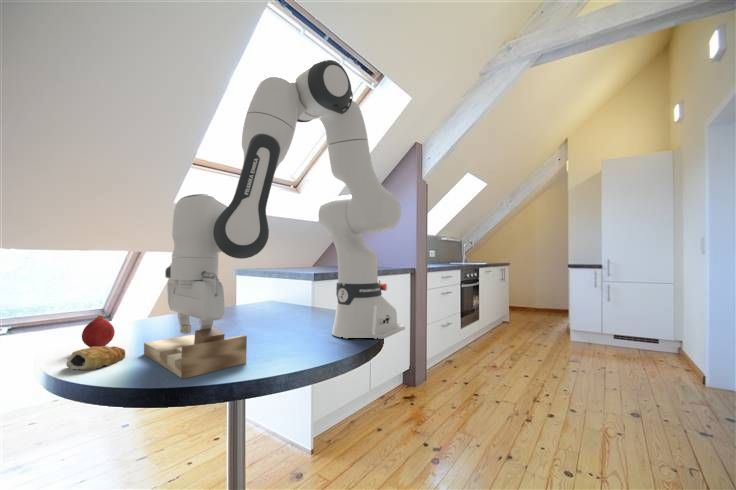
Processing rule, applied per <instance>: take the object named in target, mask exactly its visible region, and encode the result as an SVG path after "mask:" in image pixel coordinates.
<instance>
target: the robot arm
mask: <svg viewBox="0 0 736 490" xmlns="http://www.w3.org/2000/svg"><path fill="white" fill-rule="evenodd" d="M353 97H354V94H353V91H352V85H351V80H350V78H349V76H348V74H347V71H346V70H345V68H344V67H343V66H342V65H341V64H340V62H337V61H336V60H333V59H325V60H321V61H318V62H317V61H316V62H315V63H314V64H313V65H310V67H307V68H305V69H304V70H302V71H300V72H299V73H298V74H297V75H296V76H295V77H294V78H292V79H291V80H288V79H287V78H285V77H282V76H278V75H268V76H267V77H264V78H263V79H262V80H261V81H260V83H259V84H258V86H257V88H256V90H255V92H254V94H253V95H252V97H251V101H250V103H249V106H248V108H247V112H246V114H245V118H244V123H243V129H242V134H241V149H242V151H243V164H242V168H241V172H240V175H239V178H238V182H237V185H236V189H235V192H234V195H233V197H232V200H231V202H230V204H226V203H225V202H224V201H223V202H222V201H221V200H219V198H217V197H216V196H215V195H213V194H209V193H197V194H190V195H186V196H183V197H181V198H180V199H179V200H177V202H176V203H175V206H174V210H173V218H172V233H171V235H172V236H171V237H172V240H173V245H174V247H173V250H172V254H171V263H170V265H169V266H167V267H166V268H165V271H164V277H165V278H166V279H168V280H167V284H166V285H167V286H166V287H167V288H166V289H167V291H166V292H167V304H168V308H169V310H170V311H172V312H175V313H177V319H178V322H179V333H181V334H182V335H186V334H190V333H192V325H191V322H190V317H191V318H195V319H198V320H199V325H200V327H199V330H202V329H208V328H213V324H214V322H215V321H221V320H223V318H224V316H225V312H226V311H225V308H226V307H225V291H224V285H223V284H222V282H221V281H220V279H219V254H220V253H221V252H222V253H223V254H225V255H227V256H228V257H230V258H234V259H249V258H252V257H254V256H256V255H258V254H259V253H260V252H261V251H263V249H264V248H265V246H266V245H267V243H268V240H269V232H270V230H269V229H270V228H269V223H268V219H267V206H268V205H267V204H268V200H269V196H270V193H271V189H272V185H273V181H274V177H275V173H276V171H277V169H278V167H279V165H280V164H281V163H282V162H283V161H284V160H285V158H286V155H287V154H288V153H289V152H288V151H289V149H290V147H291V146H292V142H293V139H294V135H295V131H296V127H297V123H308V122H310V121H311V122H312V121H313V120H316V119H319V120H320V121H321V123H322V125H323V128H324V131H325V136H326V145H327V150H328V157H329V161H330V162H329V164H330V169H331V173H332V176H333V177H334V178H335V179H337V180H338V181H341V182H342V183H344V184H345V186H346V188H347V189H348V191H349V193H350V194H346V195H340V196H339V195H337V196H335V197H332V198H329V199H327V200H325V201H323V202H322V203H321V205H320V206H319V209H318V220H319V223H320V225H321V227H322V228H323V229H324V230H325V231H326V232H327V234H328V235H329V236H330V238H331V240H332V242H333V244H334V247H335V251H336V255H337V282H336V287H335V288H336V289H335V290H336V291H335V293H336V298H337V302H336V305H335V315H334V321H333V326H332V331H331V335H333V336H334V337H337V338H341V337H343V338H342V339H348V338H374V340H383V339H387V338H388V337H391V336H393V335H396V334H398V333H400V332H402V331H404V330H406V325H404V324H402V323H399V322H398V316H397V315H398V314H397V310H396V308H395V307H394V306H393V305H392V304H391V303H390V302H389V301H388V300H386V299H385V298H384V297H383V294H382V293H383V292H384V291H385V292H386V291H387V290H388V284H387V283H381V282H380V283H379V282H378V277H379V276H378V273H379V272H378V270H379V269H378V266H379V265H378V264H379V263H378V262H379V260H378V256H377V253H376V252H375V251H374V250H373V249H371V248H370V247H368V246H367V244H366V243H365V240H364V237H363V234H366V233H367V234H368V233H370V234H371V233H373V234H374V233H381V232H386V231H388V230H392V229H394V228H396V227H397V225H398V224H399V222H400V220H401V217H402V206H401V204H400V202H399V199H398V197H396V196H395V194H393V193H392V192H390V191H388V190H387V189H386V188H385V186H383V185H382V183H381V181H380V180H379V179H378V177H377V174H376V173H375V171H374V166H373V162H372V157H371V152H370V146H369V140H368V133H367V129H366V124H365V121H364V117H363V113H362V110H361V108H360V105H359V104H358V103H357V102H356V101H354V100H353ZM382 291H383V292H382ZM377 338H378V339H377Z"/></svg>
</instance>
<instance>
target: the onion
mask: <svg viewBox="0 0 736 490" xmlns="http://www.w3.org/2000/svg"><path fill="white" fill-rule="evenodd" d="M115 332H116V331H115V327H114V325H113V324H112V323H111V322H110V321H109V320H107V319H104V315H103V314H98V315H97V316H96V317H95V318H94V319H93V320H91V321H90V322H89V323H88V324H86V326H84V328H83V330H82V333H81V340H82V342H83V344H84V345H86V346H87V347H88V348H90V347H93V346H98V347H101V346H108V345H109V344H110V342H111V341H113V339H114V337H115Z"/></svg>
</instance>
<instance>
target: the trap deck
mask: <svg viewBox="0 0 736 490" xmlns="http://www.w3.org/2000/svg"><path fill="white" fill-rule="evenodd" d="M247 336H248V335H246V334H242V335H237V336H230V337H227V338H225V337H224V339H220V340H215V341H209V342H204V343H198V344H194V339H195V333H194V334H189V335H182V336H177V337H171V338H165V339H159V340H153V341H146V342H143V355H145V356H146V357H148V358H149V359H150V360H152V361H154V362H155V363H158V364H159V365H160V366H162V367H164V368H165V369H166V370H168V371H170V372H172V373H173V374H175V375H176V376H178V377H179V378H180V379H183V380H185V379H188V378H192V377H197V376H199V375H201V376H202V375H205V374H208V373H213V372H216V371H220V370H224V369H228V368H232V367H236V366H240V365H244V364H247V345H248V343H247V339H248V337H247Z"/></svg>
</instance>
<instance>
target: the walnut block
mask: <svg viewBox="0 0 736 490" xmlns="http://www.w3.org/2000/svg"><path fill="white" fill-rule="evenodd" d="M194 334H195V339H194V344H198V343H204V342H209V341H215V340H220V339H225V335H226V334H225V333H224V332H223V331H221V330H220V329H218V327H212V328H208V329H202V330H200V329H196V330H195V331H194Z"/></svg>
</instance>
